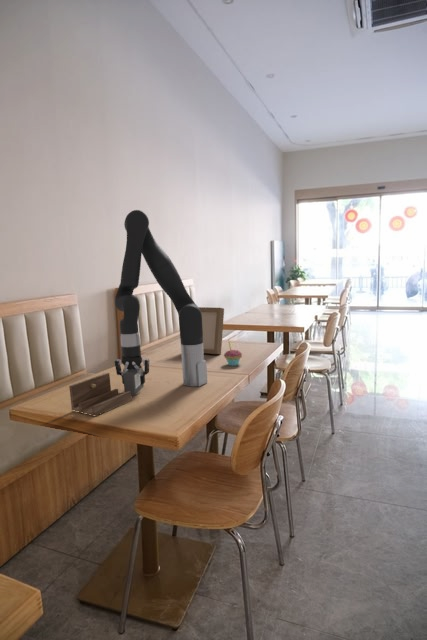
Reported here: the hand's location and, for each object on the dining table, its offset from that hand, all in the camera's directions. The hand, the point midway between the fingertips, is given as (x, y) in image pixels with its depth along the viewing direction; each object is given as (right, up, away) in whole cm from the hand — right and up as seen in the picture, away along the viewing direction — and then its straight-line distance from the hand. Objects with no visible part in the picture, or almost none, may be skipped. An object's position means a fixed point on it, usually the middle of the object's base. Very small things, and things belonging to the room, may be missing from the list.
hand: (133, 384), depth 170 cm
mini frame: (0, -3, 0) cm, 3 cm away
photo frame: (+28, +8, +64) cm, 71 cm away
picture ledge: (-9, -5, -15) cm, 18 cm away
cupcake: (+42, +4, +34) cm, 54 cm away
